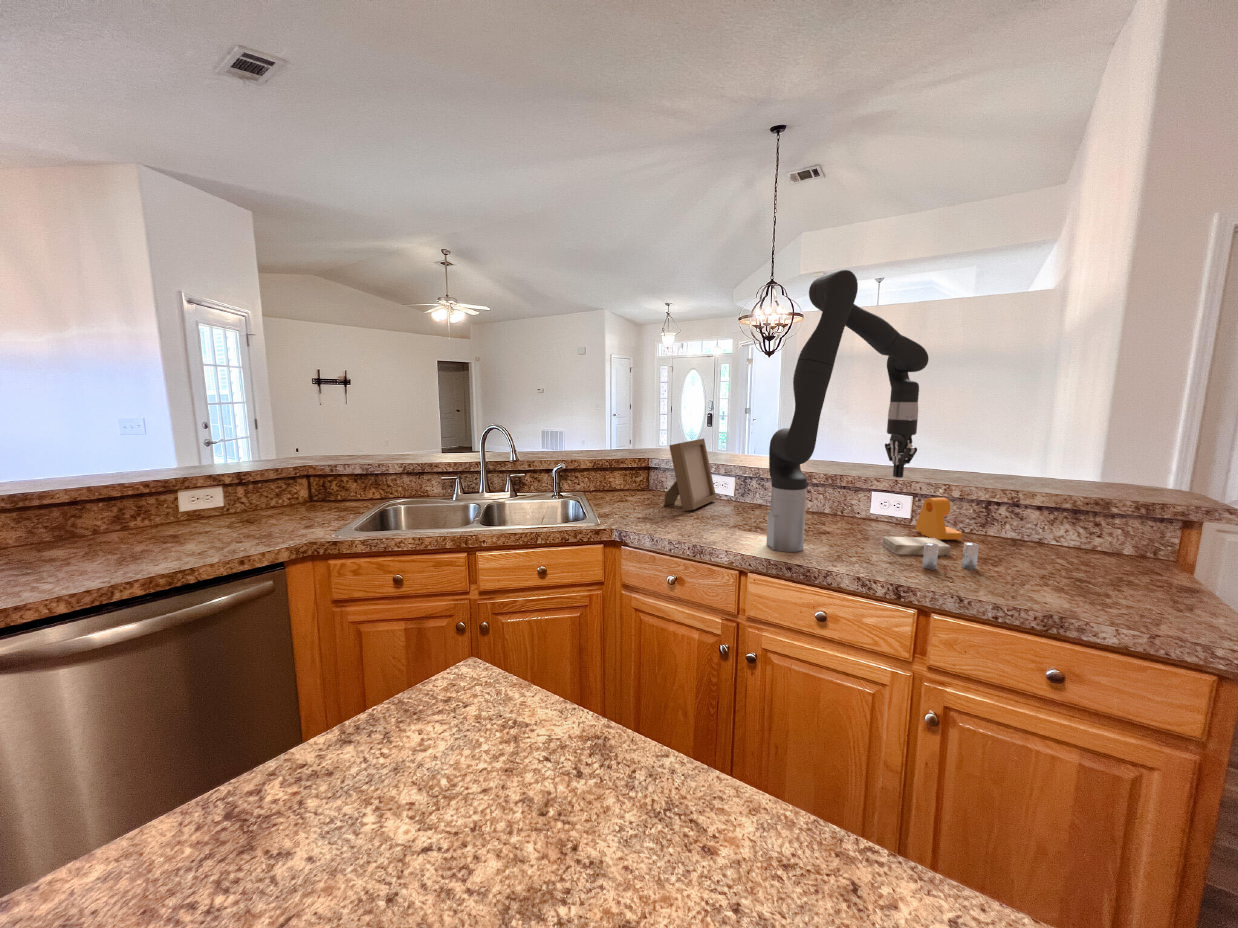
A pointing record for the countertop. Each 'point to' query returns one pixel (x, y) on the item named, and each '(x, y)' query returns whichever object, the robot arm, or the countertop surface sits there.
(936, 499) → the bracket
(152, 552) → the countertop surface
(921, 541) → the cream curved panel
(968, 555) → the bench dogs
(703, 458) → the photo frame
